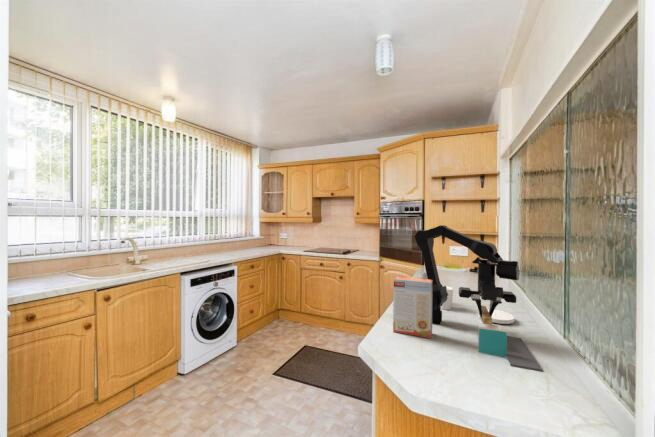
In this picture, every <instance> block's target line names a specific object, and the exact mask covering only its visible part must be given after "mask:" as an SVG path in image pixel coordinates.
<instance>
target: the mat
mask: <svg viewBox="0 0 655 437" xmlns="http://www.w3.org/2000/svg"><path fill="white" fill-rule="evenodd" d="M506 359H507V361H508V363H509V365H510V366H511V367H514V368H520V369H527V370H530V371H531V370H533V371H538V372H543V368H542V367H541V365H540V363H539V362H538V361H537V360H536V358H535V356H534V355H533V353H532V352H531V351H530V349H529V347H528V346H527V344H526V343H525V341H523V339H522V337H520V336H519V337H517V336H510V335H507V357H506Z"/></svg>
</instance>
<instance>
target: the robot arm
mask: <svg viewBox="0 0 655 437" xmlns="http://www.w3.org/2000/svg"><path fill="white" fill-rule="evenodd" d="M441 236H442V237H444V238H446V239H448V240H450V241H453V242H455V243H457V244H459V245H461V246H464V247H465V248H467V249H469V250H470V251H471V252H472V253H473V254H475V255H476V256H477V257H476V258H475V259H474V260H472V262H471V263H472V264H477V290H471V288H470V287H466V286H465V287H464V286H463V287H462V286H460V287H459V288H458V296H459V298H465V299H469V298H471V300H472V301H474V302H475V304H476V306H477V311H478V310H479V313H480V316H481V317H482V307H481V306H482V300H483V301H489V307H488V309H489V314H490V315H491V316H492V314H493V312H494V310H496V307H497V306H498V305H500V304H503V302H502V300H504V301H505V302H506V303H512V304H516V303H517V295H515V294H514V293H513V292H512V291H509V290H508V291H507V290H505V291H504V288H503V287H500V286H499V287H498V286H496V275H497V277H498V278H499V279H505V280H509V281H510V280H512V281H516V282H517V281H519V280H520V274H521V272H520V267H519V266H520V265H519V261H517V260H504V259H503V258H502V257H501V254H500V253H499V252H498V249H497V246H496V245H495V244H494V243H491V242H488V241H484V240H480V239H475V238H474V237H473V238H472V237H470V236H468V235H466V234H463V233H461V232H459V231H457V230H454V229H452V228H450V227H448V226H447V225H442V224H441V225H438V226H436V227H433V228H432V227H431V228H429V229H422V230H418V231H416V232H415V234H414V240H415V242H416V245H417V247H418V248H419V251H421V254H422V259H423V264H424V268H425V272H426V273H427V278H428V279H429V280H432V325H433V324H434V325H441V324H442V322H443V309H441V307H440V306H442V304H443V303H444V302H446V300H447V296H448V293H447V289H446V285H443V284H442V283H441V281H440V276H439V272H438V268H437V263H436V259H435V254H434V244H435V239H436V238H439V237H441Z"/></svg>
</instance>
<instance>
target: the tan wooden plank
mask: <svg viewBox="0 0 655 437" xmlns="http://www.w3.org/2000/svg"><path fill="white" fill-rule="evenodd" d="M481 307H482V317H481V316H480V313H479V310H478V309H477V314H478V313H479V316H480V317H479V316H478V317H479V318H480V319H481V322H478V328H479V327H484V328H491V329H499V330H501V329H500V327H499V326H498V325H496V324H495V325H494V324H493V322H492V317H491V315H490V314H489V312H488V310H487V309H488V308H487V306H486V305H481Z"/></svg>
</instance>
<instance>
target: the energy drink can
mask: <svg viewBox="0 0 655 437" xmlns="http://www.w3.org/2000/svg"><path fill="white" fill-rule="evenodd" d="M418 278H419V279H428V278H427V273H426V271H420V272H419V274H418Z"/></svg>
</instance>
